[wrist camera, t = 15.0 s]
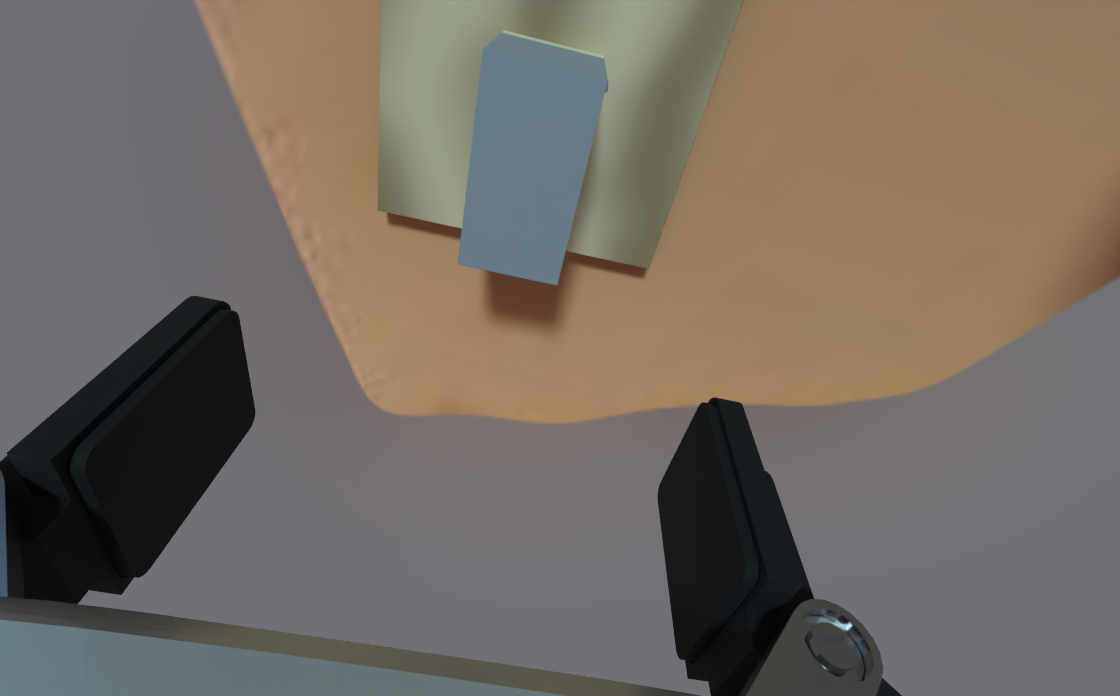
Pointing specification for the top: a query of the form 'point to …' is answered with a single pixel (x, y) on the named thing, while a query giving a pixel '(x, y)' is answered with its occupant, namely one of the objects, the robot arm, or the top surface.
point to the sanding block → (529, 154)
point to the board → (623, 125)
